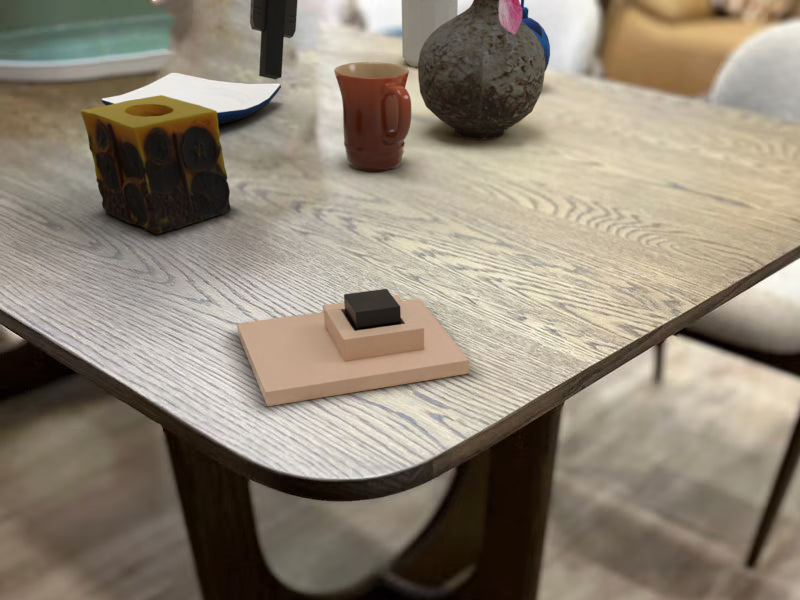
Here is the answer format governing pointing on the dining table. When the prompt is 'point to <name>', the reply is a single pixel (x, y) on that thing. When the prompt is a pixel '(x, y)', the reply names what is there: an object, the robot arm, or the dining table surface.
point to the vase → (482, 69)
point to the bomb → (537, 32)
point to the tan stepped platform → (347, 353)
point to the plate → (207, 95)
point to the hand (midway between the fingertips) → (270, 76)
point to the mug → (374, 113)
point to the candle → (158, 162)
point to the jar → (423, 24)
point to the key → (372, 309)
